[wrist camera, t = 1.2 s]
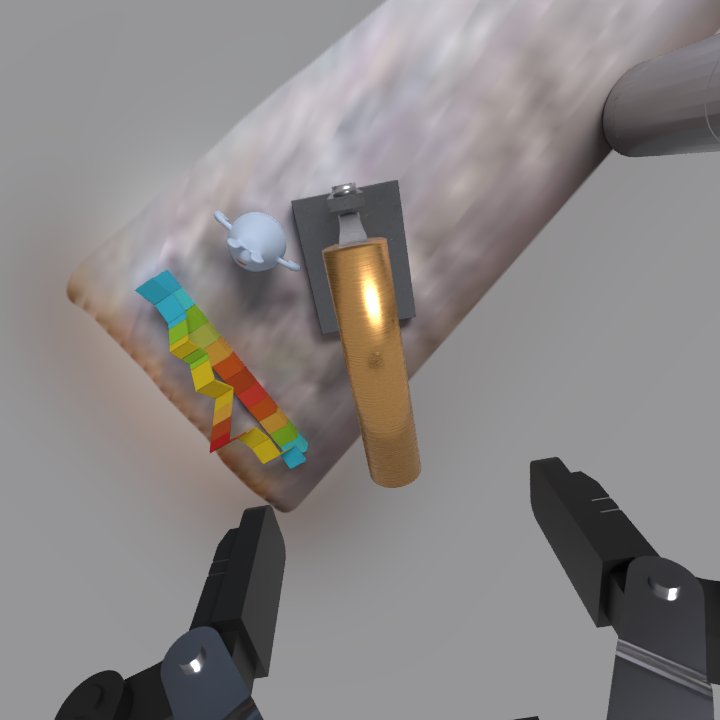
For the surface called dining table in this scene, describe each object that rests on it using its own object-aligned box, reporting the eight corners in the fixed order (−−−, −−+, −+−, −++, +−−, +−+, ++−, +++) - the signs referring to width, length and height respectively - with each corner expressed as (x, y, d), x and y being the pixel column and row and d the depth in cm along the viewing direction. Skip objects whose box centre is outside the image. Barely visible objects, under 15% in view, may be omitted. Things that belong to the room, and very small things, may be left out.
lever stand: (394, 172, 47) (418, 170, 32) (414, 317, 54) (440, 369, 39) (291, 193, 47) (269, 200, 33) (324, 334, 54) (318, 391, 40)
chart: (148, 282, 51) (77, 321, 37) (168, 269, 51) (103, 303, 37) (290, 452, 62) (275, 529, 49) (308, 442, 62) (298, 518, 48)
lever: (365, 209, 36) (389, 243, 17) (387, 345, 41) (425, 482, 23) (331, 216, 36) (320, 256, 18) (358, 350, 41) (371, 491, 23)
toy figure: (212, 232, 49) (174, 248, 38) (238, 186, 47) (206, 188, 36) (289, 283, 52) (275, 311, 41) (316, 241, 50) (309, 259, 39)
